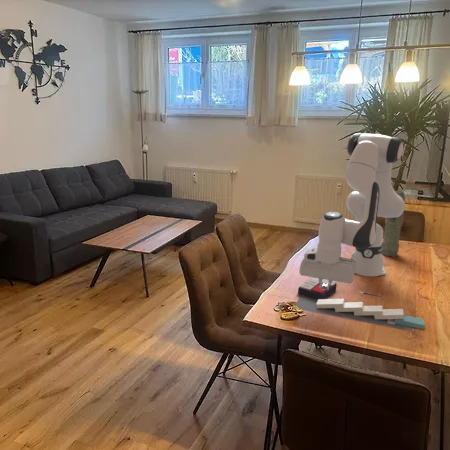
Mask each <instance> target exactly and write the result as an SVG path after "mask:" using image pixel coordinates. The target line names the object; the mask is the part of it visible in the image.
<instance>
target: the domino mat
mask: <svg viewBox="0 0 450 450" xmlns="http://www.w3.org/2000/svg"><path fill="white" fill-rule="evenodd" d="M317 301H318V300H316V299H313V298H309V297H306V296H302V295H299V296H298V299H297V302H296V304H295V305H294V307H295V306H297V307H298V308H300V309H299V310H301V309H302V311H308V312H312V313H318V314H322V315H328V316H332V317H338V318H344V319H348V320H353V321H358V322H363V323H369V324H374V325H378V326H379V325H380V326H384V327H389V328H393V329H394V328H395V329H399V330H404V331H411V332H413V327H411V326H406V325H401V324H397V323H394V319H375V317H374V315H356V316H354V312H335V308H317V306H316V304H317Z"/></svg>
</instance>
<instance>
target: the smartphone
mask: <svg viewBox="0 0 450 450" xmlns="http://www.w3.org/2000/svg"><path fill="white" fill-rule="evenodd" d="M359 293H360V294H362V295H368V296H374V297H381V298H383V296H382V295H377V294H372V293H368V292H365V291H364V292H363V291H359ZM384 298H386V299H387V297H384Z"/></svg>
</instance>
